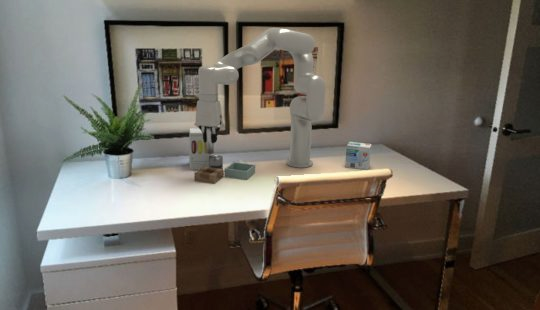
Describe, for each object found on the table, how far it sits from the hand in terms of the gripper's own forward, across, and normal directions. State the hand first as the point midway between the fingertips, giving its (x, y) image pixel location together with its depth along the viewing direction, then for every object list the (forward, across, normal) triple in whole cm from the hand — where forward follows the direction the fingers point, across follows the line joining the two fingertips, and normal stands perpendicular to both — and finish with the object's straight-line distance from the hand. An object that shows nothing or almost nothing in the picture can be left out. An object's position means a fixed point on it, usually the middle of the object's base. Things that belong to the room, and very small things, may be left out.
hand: (210, 141), depth 194 cm
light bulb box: (+18, +55, +41) cm, 71 cm away
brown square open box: (+16, -1, -1) cm, 16 cm away
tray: (+16, +9, +9) cm, 21 cm away
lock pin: (+5, 0, 0) cm, 5 cm away
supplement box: (+16, -12, +13) cm, 24 cm away
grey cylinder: (+16, -2, +8) cm, 18 cm away
